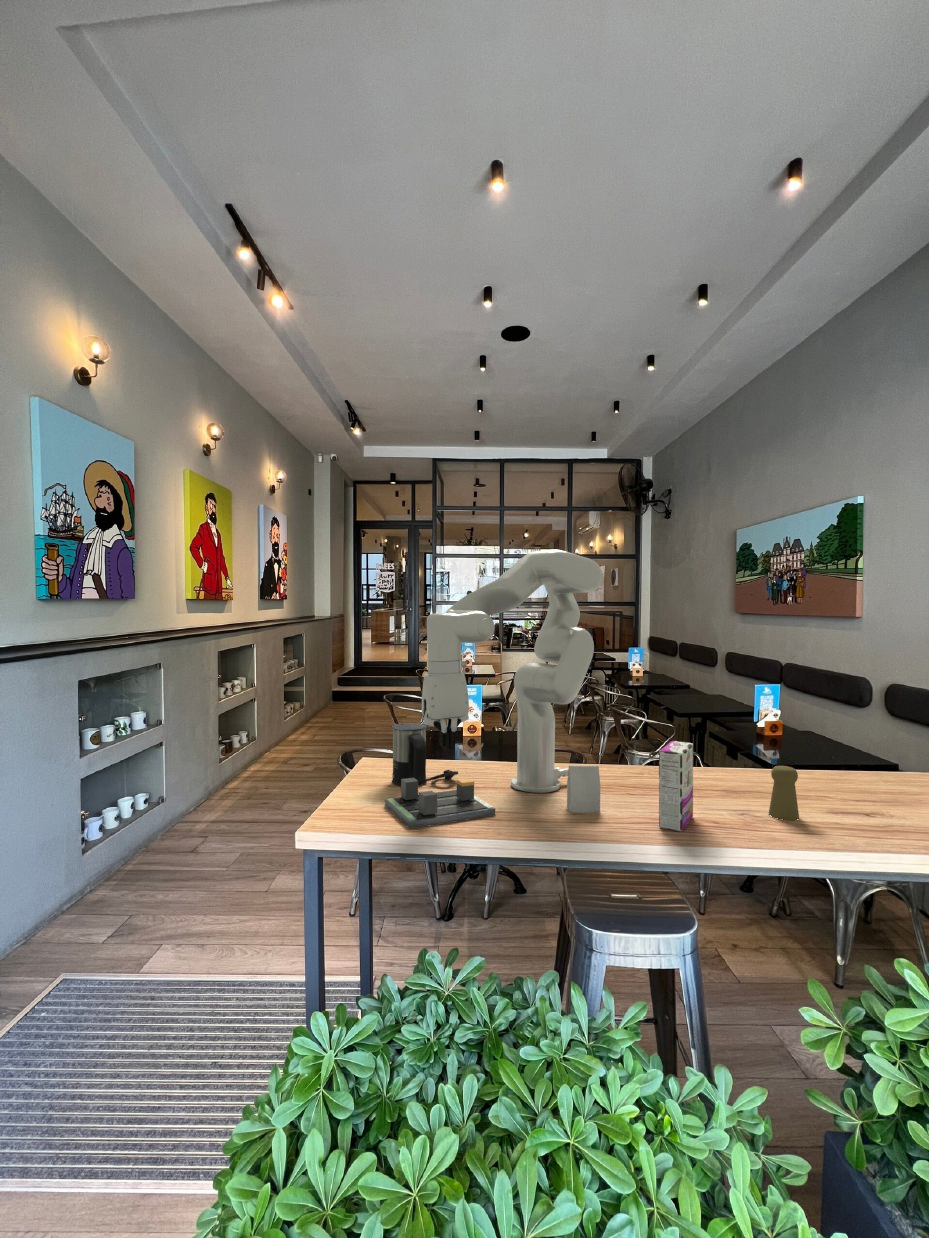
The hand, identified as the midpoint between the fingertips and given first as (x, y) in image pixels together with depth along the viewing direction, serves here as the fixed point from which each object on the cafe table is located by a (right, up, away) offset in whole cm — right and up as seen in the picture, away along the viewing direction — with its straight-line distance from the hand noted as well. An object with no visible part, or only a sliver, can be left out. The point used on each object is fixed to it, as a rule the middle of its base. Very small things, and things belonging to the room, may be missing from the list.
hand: (447, 748), depth 136 cm
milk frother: (-6, -14, +21) cm, 26 cm away
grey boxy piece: (+31, -14, 0) cm, 34 cm away
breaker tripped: (+4, -12, +2) cm, 13 cm away
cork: (+75, -15, -3) cm, 76 cm away
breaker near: (-4, -12, -8) cm, 15 cm away
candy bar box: (+49, -15, -7) cm, 52 cm away
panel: (-2, -14, -1) cm, 14 cm away
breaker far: (-9, -12, +2) cm, 15 cm away
